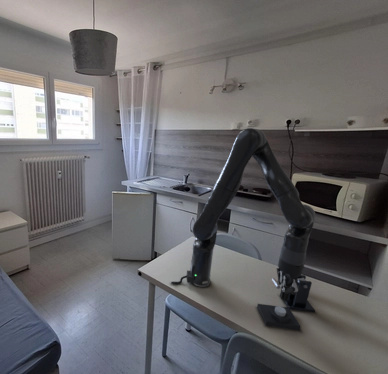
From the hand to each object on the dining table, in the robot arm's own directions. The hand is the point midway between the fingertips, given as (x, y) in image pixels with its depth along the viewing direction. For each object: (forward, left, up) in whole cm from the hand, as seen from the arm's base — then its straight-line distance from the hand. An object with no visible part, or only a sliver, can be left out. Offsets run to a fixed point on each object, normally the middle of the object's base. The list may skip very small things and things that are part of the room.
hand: (283, 298), depth 84 cm
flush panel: (0, +1, -10) cm, 10 cm away
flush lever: (+7, +11, -1) cm, 13 cm away
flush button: (0, 0, -7) cm, 7 cm away
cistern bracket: (+12, +11, -10) cm, 19 cm away
